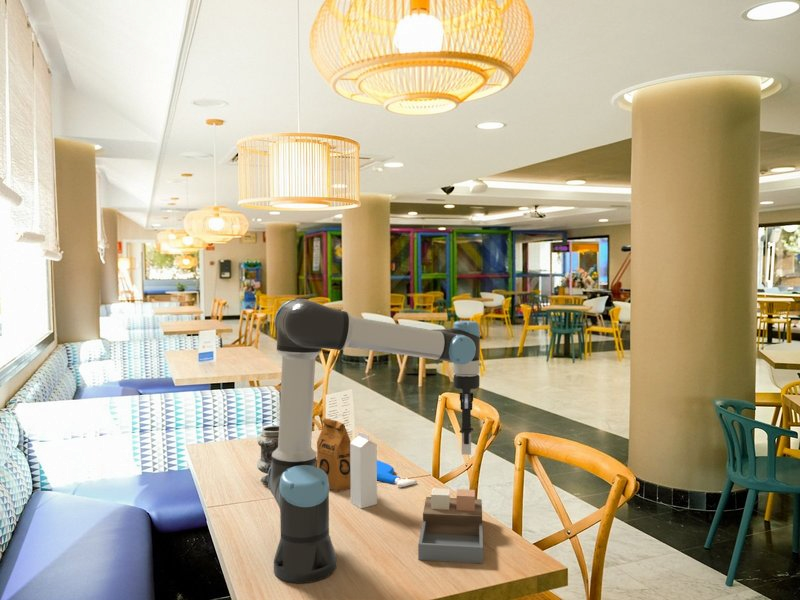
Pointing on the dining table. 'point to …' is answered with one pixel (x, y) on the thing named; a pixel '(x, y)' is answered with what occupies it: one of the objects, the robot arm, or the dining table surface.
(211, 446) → the dining table surface
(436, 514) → the block
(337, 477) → the coffee package
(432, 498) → the cream block
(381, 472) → the spray bottle
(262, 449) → the dark stone vase
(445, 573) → the dining table surface
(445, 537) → the box
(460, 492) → the salmon orange block
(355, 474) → the milk
